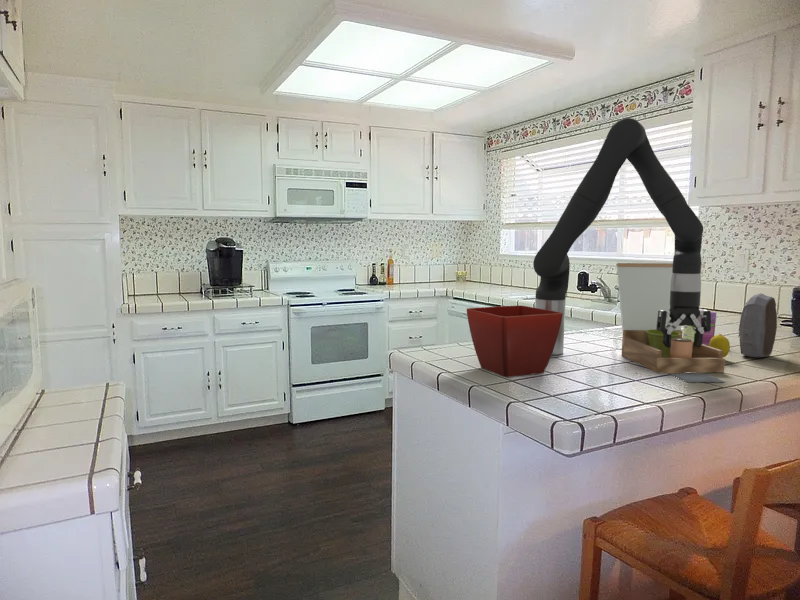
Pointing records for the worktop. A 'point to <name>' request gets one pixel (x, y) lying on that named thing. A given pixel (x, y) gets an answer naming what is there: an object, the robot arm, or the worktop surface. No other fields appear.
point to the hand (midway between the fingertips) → (682, 346)
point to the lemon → (720, 344)
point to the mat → (697, 378)
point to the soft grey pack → (758, 326)
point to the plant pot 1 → (514, 338)
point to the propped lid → (643, 294)
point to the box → (707, 336)
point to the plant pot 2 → (660, 341)
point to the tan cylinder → (681, 348)
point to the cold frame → (650, 357)
